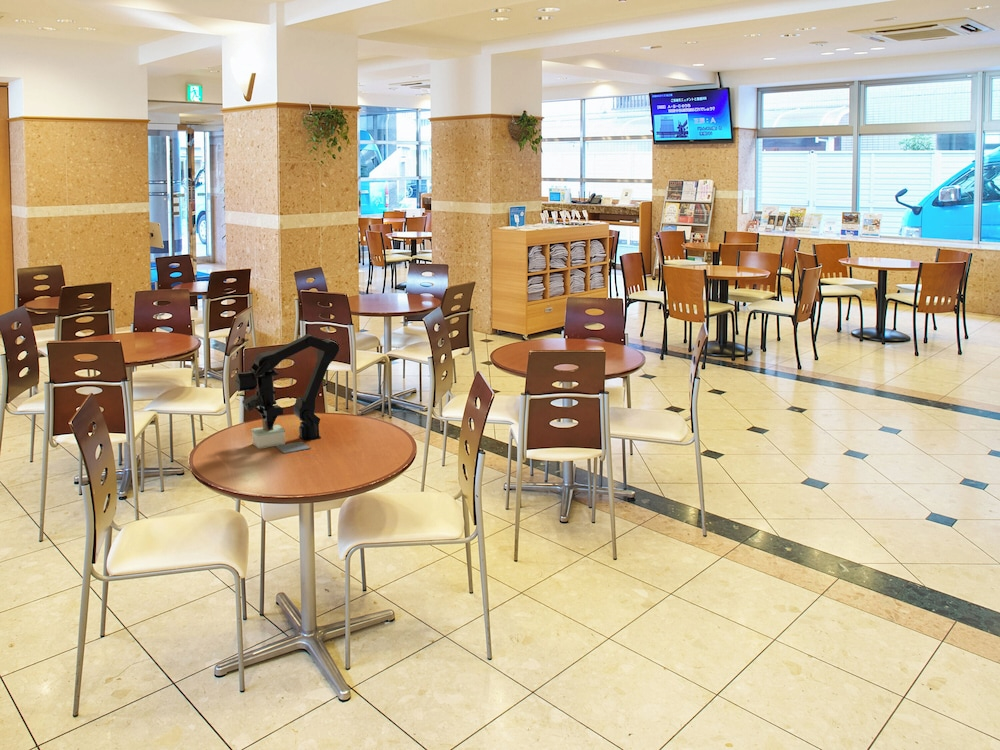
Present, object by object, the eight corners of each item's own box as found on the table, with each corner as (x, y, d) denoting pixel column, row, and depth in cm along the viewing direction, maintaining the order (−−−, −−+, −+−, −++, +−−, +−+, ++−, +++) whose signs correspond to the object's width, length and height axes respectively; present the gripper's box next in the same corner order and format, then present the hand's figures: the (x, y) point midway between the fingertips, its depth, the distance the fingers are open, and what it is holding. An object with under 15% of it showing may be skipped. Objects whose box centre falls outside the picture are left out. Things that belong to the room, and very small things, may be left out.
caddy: (278, 439, 332) (277, 426, 331) (285, 444, 326) (284, 431, 325) (252, 443, 327) (252, 431, 325) (259, 449, 321) (258, 436, 320)
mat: (301, 442, 329) (301, 441, 328) (310, 448, 322) (310, 447, 322) (276, 447, 323) (275, 446, 323) (284, 453, 316) (284, 452, 316)
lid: (278, 429, 331) (277, 414, 330) (285, 434, 325) (284, 419, 324) (251, 433, 326) (250, 418, 324) (258, 438, 320) (257, 423, 318)
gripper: (236, 385, 324) (238, 425, 328) (252, 396, 309) (255, 438, 313) (265, 381, 330) (267, 420, 334) (282, 392, 315) (285, 433, 319)
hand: (268, 428), depth 325 cm, fingers open, 3 cm apart
